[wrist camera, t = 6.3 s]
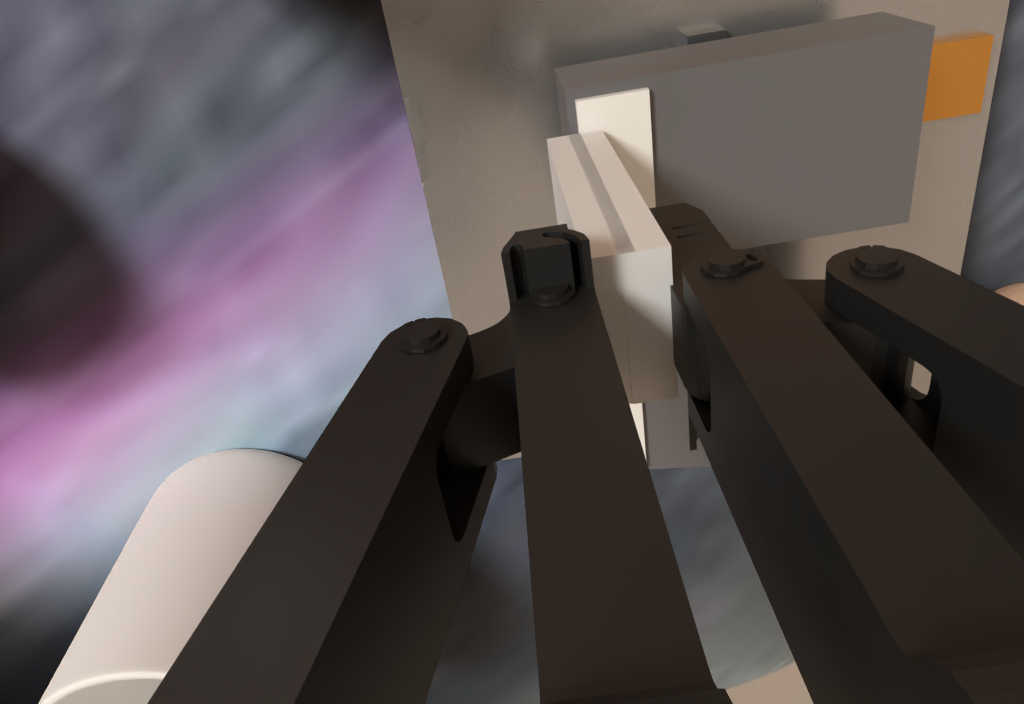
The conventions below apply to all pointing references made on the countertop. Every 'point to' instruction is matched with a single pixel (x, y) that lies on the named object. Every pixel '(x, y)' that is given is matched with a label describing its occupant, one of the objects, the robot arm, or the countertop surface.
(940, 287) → the robot arm
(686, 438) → the block
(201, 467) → the cup
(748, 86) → the block
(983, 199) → the countertop surface
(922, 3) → the panel
